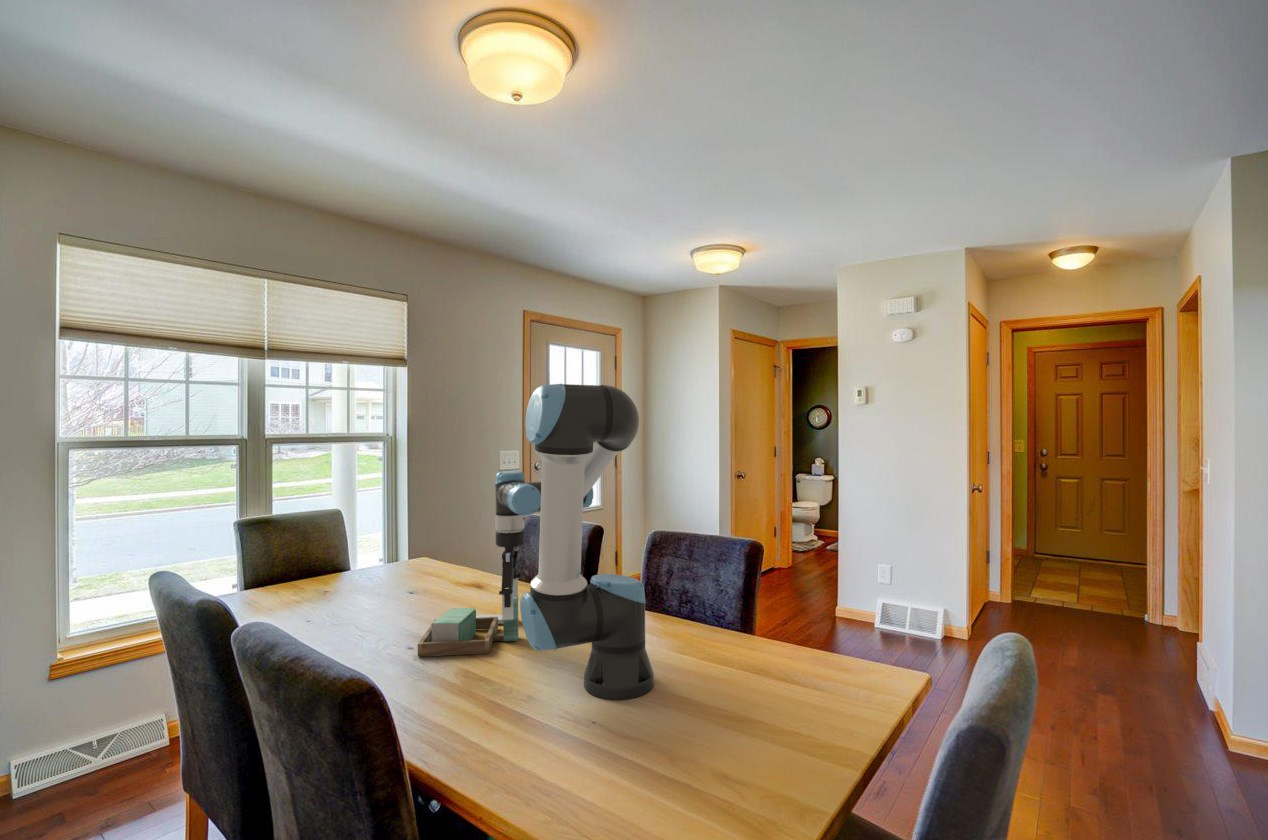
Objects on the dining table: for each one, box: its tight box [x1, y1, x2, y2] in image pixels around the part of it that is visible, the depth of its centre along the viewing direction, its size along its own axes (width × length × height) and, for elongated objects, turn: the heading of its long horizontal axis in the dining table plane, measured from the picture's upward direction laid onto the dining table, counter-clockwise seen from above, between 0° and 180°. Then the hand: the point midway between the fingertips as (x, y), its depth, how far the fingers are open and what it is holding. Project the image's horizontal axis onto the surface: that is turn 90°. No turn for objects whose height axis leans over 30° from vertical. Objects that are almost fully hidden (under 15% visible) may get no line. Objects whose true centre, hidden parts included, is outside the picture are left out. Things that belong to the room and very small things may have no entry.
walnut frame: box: [417, 594, 519, 657], centre depth 159 cm, size 19×23×11 cm
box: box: [431, 607, 477, 642], centre depth 158 cm, size 7×14×8 cm, turn 177°
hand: (510, 610), depth 160 cm, fingers open, 13 cm apart
